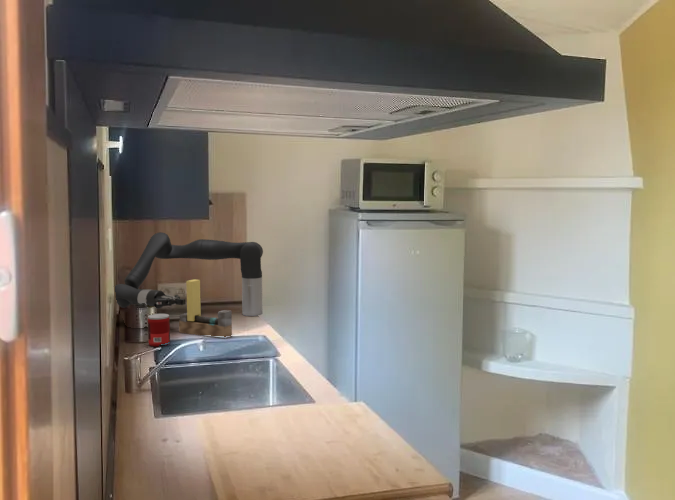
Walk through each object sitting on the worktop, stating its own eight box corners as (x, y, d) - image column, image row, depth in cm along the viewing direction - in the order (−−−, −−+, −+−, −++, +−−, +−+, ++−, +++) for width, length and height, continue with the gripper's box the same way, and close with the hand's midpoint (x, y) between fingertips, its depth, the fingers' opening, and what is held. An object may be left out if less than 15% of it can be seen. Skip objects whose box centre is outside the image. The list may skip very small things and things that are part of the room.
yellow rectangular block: (187, 320, 267) (186, 281, 265) (195, 318, 271) (194, 279, 270) (193, 321, 266) (192, 281, 264) (200, 319, 270) (199, 279, 268)
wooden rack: (179, 332, 270) (178, 307, 269) (186, 330, 274) (185, 305, 273) (225, 338, 260) (224, 312, 258) (231, 336, 263) (231, 310, 262)
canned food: (174, 343, 252) (173, 315, 251) (155, 347, 246) (154, 318, 245) (163, 340, 257) (162, 312, 256) (144, 344, 251) (143, 315, 250)
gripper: (162, 304, 283) (195, 308, 275) (140, 310, 271) (173, 314, 264) (162, 287, 282) (194, 290, 274) (139, 292, 270) (172, 296, 263)
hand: (184, 302), depth 269 cm, fingers closed
